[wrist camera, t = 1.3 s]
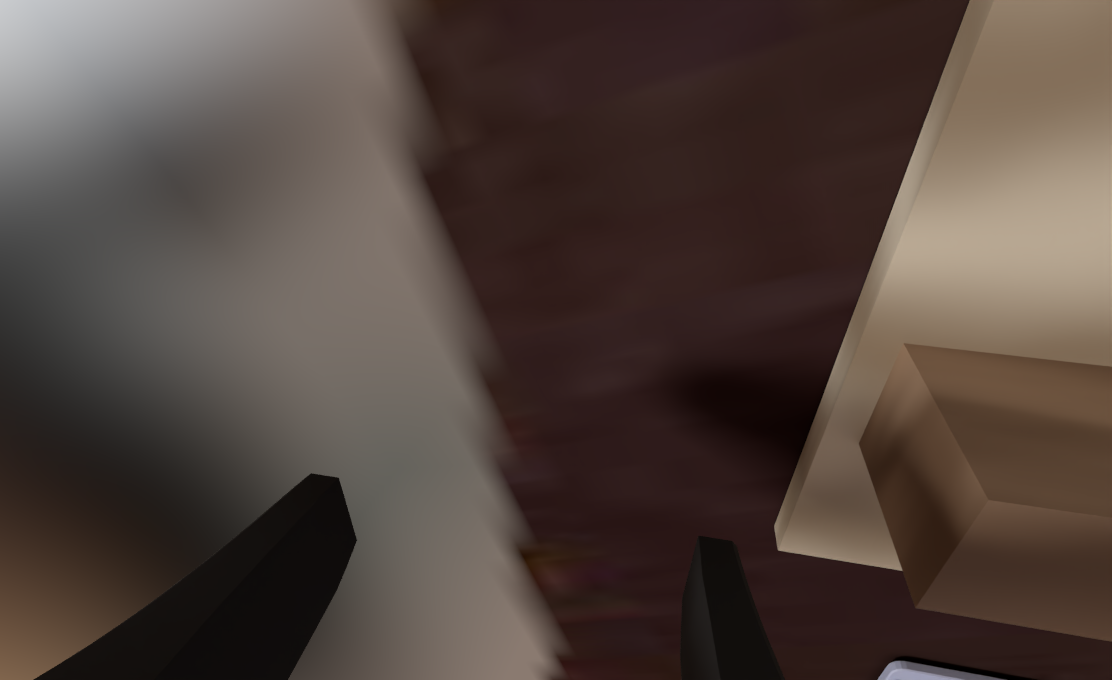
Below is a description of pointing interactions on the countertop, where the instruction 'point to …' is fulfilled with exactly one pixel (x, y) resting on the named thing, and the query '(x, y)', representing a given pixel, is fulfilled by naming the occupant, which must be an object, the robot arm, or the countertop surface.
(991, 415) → the block
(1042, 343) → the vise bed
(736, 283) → the countertop surface
